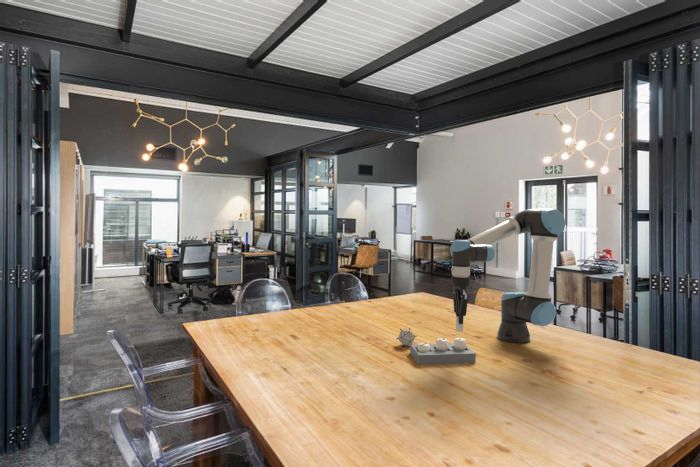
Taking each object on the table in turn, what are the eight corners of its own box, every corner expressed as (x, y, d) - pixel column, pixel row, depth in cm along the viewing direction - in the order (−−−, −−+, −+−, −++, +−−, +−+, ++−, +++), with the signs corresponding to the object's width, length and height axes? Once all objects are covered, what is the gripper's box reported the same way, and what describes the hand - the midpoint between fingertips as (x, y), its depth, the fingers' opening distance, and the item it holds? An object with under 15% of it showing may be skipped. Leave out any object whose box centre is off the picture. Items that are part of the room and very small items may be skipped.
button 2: (445, 349, 174) (445, 337, 174) (449, 353, 169) (449, 341, 169) (434, 349, 174) (434, 338, 174) (438, 353, 169) (438, 341, 169)
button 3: (427, 354, 173) (427, 342, 173) (431, 358, 168) (431, 346, 168) (416, 354, 173) (416, 342, 173) (419, 358, 168) (419, 346, 168)
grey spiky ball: (409, 354, 187) (416, 341, 181) (392, 347, 188) (398, 333, 182) (414, 340, 194) (420, 327, 188) (397, 333, 195) (403, 320, 189)
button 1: (463, 348, 175) (463, 337, 175) (467, 352, 170) (467, 340, 170) (452, 349, 175) (452, 337, 174) (456, 353, 170) (456, 341, 169)
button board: (462, 351, 180) (462, 342, 180) (475, 362, 166) (475, 353, 166) (410, 353, 177) (410, 344, 177) (418, 364, 163) (418, 355, 163)
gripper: (446, 274, 177) (445, 327, 178) (457, 278, 164) (456, 335, 165) (463, 274, 178) (462, 326, 179) (475, 278, 165) (474, 335, 166)
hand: (459, 330), depth 172 cm, fingers closed
